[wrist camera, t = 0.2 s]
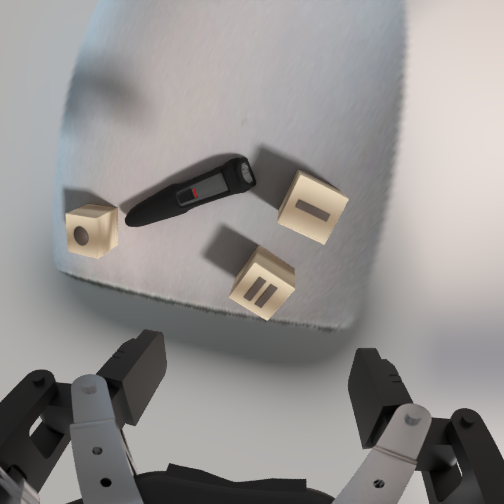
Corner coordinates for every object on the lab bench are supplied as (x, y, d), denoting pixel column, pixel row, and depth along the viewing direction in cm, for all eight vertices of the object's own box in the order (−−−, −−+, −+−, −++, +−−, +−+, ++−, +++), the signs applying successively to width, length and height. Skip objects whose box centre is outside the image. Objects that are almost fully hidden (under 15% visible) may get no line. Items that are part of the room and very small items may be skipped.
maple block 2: (259, 244, 33) (254, 262, 28) (294, 268, 34) (295, 289, 29) (236, 276, 35) (228, 297, 30) (269, 297, 36) (267, 321, 31)
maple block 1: (88, 203, 34) (64, 213, 29) (118, 207, 33) (95, 218, 29) (89, 238, 35) (68, 251, 31) (118, 244, 35) (97, 259, 30)
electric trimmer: (130, 201, 33) (117, 208, 30) (246, 154, 30) (241, 155, 27) (142, 228, 34) (130, 237, 32) (258, 186, 31) (254, 191, 28)
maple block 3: (297, 169, 29) (300, 174, 25) (339, 189, 30) (349, 199, 25) (278, 210, 31) (277, 223, 27) (318, 229, 32) (324, 245, 27)
